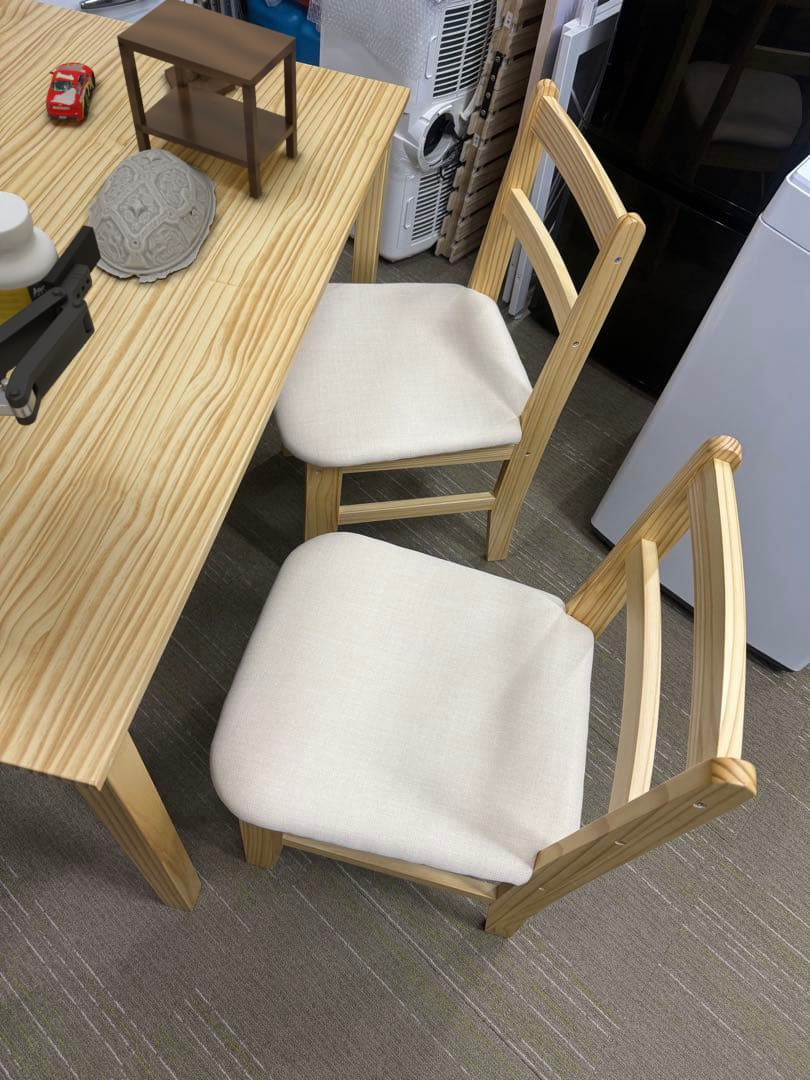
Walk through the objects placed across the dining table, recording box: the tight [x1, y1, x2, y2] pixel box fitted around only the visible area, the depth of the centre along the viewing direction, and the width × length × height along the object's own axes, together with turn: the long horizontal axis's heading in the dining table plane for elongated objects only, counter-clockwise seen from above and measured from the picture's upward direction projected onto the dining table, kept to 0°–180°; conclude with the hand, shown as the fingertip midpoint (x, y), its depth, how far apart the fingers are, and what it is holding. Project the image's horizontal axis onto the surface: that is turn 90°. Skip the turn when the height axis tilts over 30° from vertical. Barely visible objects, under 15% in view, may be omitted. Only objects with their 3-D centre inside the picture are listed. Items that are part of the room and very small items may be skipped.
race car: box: [45, 62, 96, 123], centre depth 111 cm, size 13×5×4 cm, turn 2°
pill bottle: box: [0, 190, 60, 325], centre depth 57 cm, size 6×6×12 cm
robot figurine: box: [163, 0, 236, 96], centre depth 113 cm, size 11×9×12 cm
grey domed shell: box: [87, 148, 217, 284], centre depth 98 cm, size 16×25×7 cm, turn 178°
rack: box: [116, 0, 298, 200], centre depth 102 cm, size 12×18×16 cm, turn 68°
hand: (46, 231), depth 59 cm, fingers closed on pill bottle, 6 cm apart
